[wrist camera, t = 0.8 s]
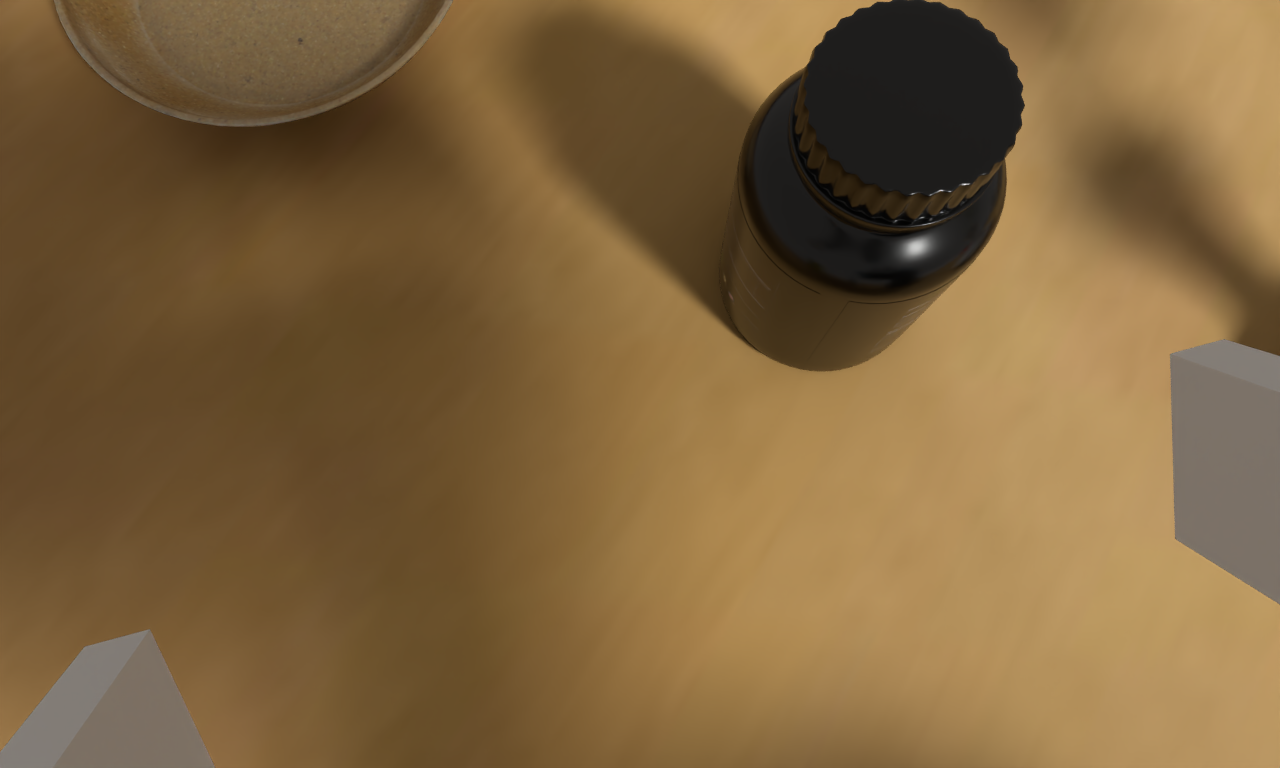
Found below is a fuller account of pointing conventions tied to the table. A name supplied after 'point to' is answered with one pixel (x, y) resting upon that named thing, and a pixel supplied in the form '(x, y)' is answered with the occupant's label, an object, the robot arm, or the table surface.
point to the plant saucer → (248, 52)
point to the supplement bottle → (868, 183)
